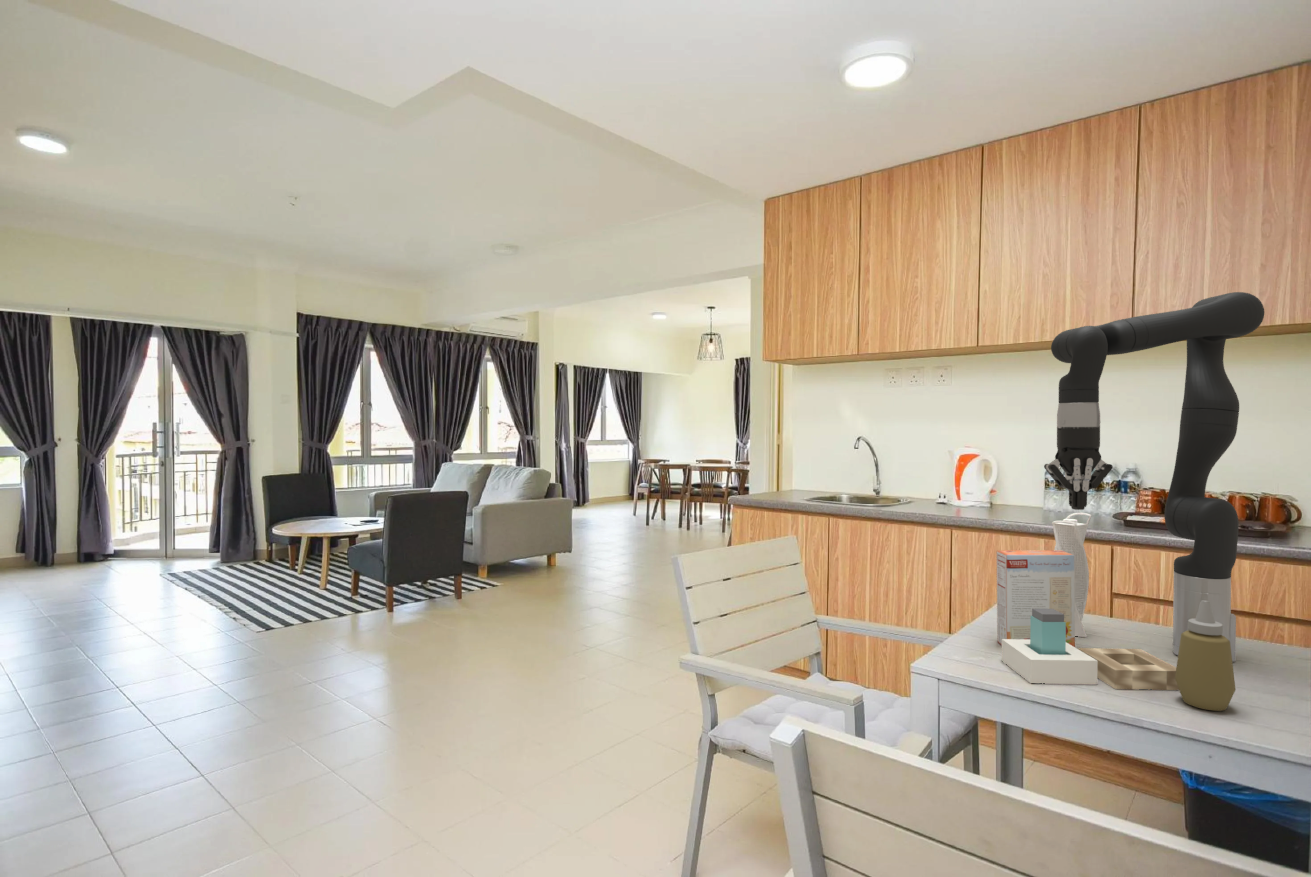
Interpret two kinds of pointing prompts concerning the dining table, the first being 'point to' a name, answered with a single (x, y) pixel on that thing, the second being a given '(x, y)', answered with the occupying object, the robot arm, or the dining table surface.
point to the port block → (1049, 664)
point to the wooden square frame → (1132, 669)
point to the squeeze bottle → (1205, 663)
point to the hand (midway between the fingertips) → (1077, 509)
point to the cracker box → (1033, 590)
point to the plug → (1047, 632)
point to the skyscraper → (1075, 561)
